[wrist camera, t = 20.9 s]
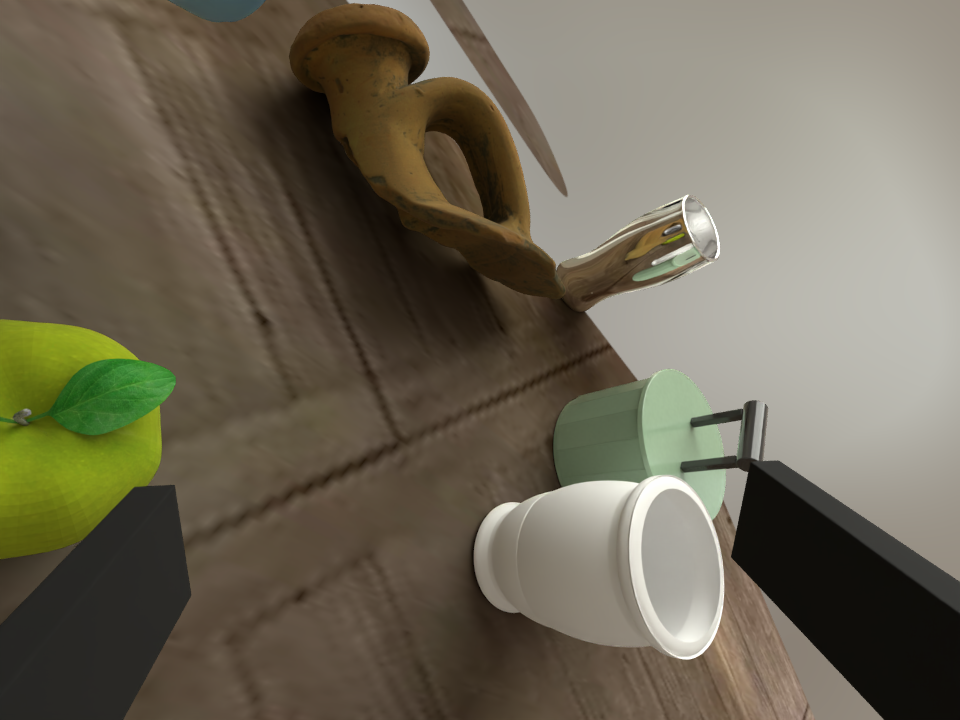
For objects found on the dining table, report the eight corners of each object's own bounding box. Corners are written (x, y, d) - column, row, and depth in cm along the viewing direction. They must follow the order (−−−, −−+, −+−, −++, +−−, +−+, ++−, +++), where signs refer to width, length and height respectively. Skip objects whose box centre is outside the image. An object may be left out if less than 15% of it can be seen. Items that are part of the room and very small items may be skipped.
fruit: (-114, 350, 22) (-183, 258, 15) (143, 362, 28) (184, 301, 21) (-149, 576, 20) (-249, 600, 12) (138, 536, 26) (181, 537, 19)
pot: (535, 468, 46) (625, 456, 39) (577, 372, 53) (659, 347, 46) (613, 548, 50) (707, 550, 43) (641, 448, 57) (725, 436, 51)
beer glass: (545, 257, 55) (673, 188, 44) (582, 257, 59) (706, 195, 49) (563, 318, 54) (698, 263, 43) (599, 314, 59) (728, 263, 48)
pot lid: (614, 458, 39) (709, 445, 33) (651, 342, 47) (732, 316, 42) (702, 558, 43) (798, 562, 38) (722, 436, 51) (804, 424, 46)
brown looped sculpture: (390, 335, 30) (299, -51, 28) (346, 345, 42) (279, 72, 40) (624, 283, 38) (564, -20, 36) (532, 304, 50) (483, 76, 48)
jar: (458, 633, 36) (641, 673, 25) (461, 485, 40) (624, 465, 29) (557, 620, 43) (738, 649, 32) (553, 494, 46) (714, 481, 35)
